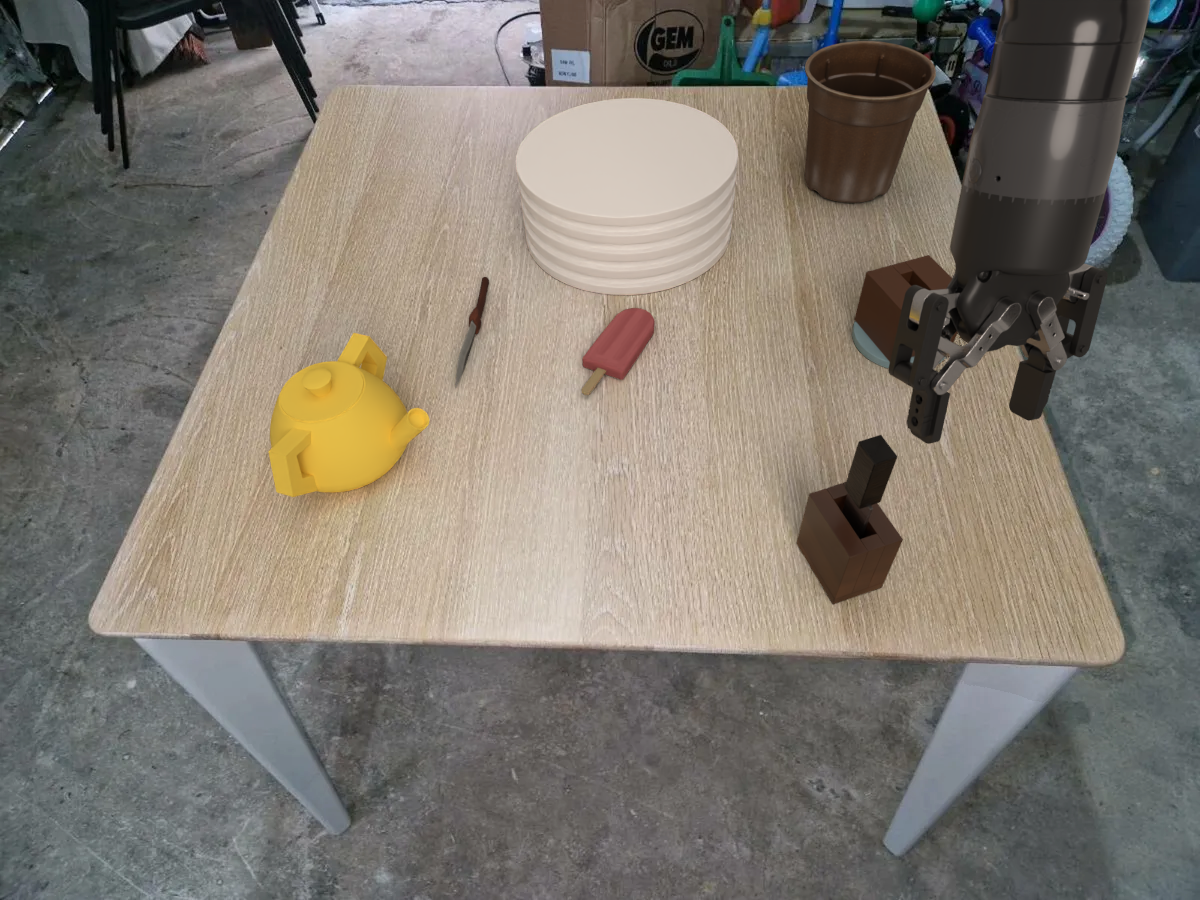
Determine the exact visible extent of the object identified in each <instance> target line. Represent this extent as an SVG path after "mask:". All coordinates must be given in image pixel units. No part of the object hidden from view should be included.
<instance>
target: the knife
mask: <svg viewBox="0 0 1200 900" xmlns="http://www.w3.org/2000/svg"><path fill="white" fill-rule="evenodd" d="M489 286H490V279H489V277H487V276H483V277H481V281H480V287H479V292H478V297H477V301H476V304H475V307H474V308H473V310H472V311H470V314H469V316H468V329H467V332H466V335H465V338H464V341H463V343H462V345H461V348H460V351H459V354H458V359H457V364H456V373H455V382H454V389H456V388H457V386H458V385H459V383H460V381H461V378H462V376H463V373H464V372H465V368H466V366H467V363H468V360H469V358H470V354H471V351H472V347H473V344H474V341H475V338H476V335H478V334H479V332H480V330H481V327H482V318H483V314H484V310H485V306H486V301H487V296H488V291H489Z"/></svg>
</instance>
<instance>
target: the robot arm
mask: <svg viewBox="0 0 1200 900" xmlns="http://www.w3.org/2000/svg"><path fill="white" fill-rule="evenodd" d="M1150 9H1151V0H1002V9H1001V13H1000V17H999V22H998V25H997V30H996V35H995V39H994V41H995V42H994V43H993V47H992V53H991V58H990V63H989V69H988V73H987V79H986V83H985V88H984V89H985V90H984V93H985V94H983V98H982V102H981V105H980V108H979V113H978V114H977V115H978V116H977V118H976V120H975V125H974V127H973V130H972V133H971V138H970V142H969V147H968V151H967V156H966V163H965V168H964V173H963V179H962V183H961V188H960V193H959V198H958V204H957V209H956V214H955V219H954V225H953V228H952V229H953V230H952V234H951V238H950V244H949V250H950V253H951V255H952V258H953V260H954V265H955V269H954V273H953V276H952V280H951V281H950V283H949V285H948V286H947V288H946V289H939V290H927V289H925V288H922V287H920V286H918V285H913V286H911V287H909V288H908V290H907V291H906V293H905V296H904V301H903V305H902V310H901V314H900V319H899V323H898V328H897V332H896V337H895V341H894V346H893V350H892V355H891V359H890V364H889V369H888V368H887V370H888V374H889V375H890V376H891V377H893V378H895V379H897V380H899V381H900V382H902V383H903V384H905V385H907V386H909V387H911V388H912V391H911V395H910V401H909V406H908V408H909V409H908V412H907V417H906V426H907V429H908V430H909V431H910V433H911V435H913V436H914V437H916V438H917V439H919V440H920V441H921V442H923V443H925V444H926V445H929V444H930V445H931V444H934V443H938V442H940V441H941V438H942V435H943V430H944V424H945V421H946V416H947V410H948V407H949V401H950V396H951V393H950V392H949V390H950V389H951V388H952V387H953V385H954V384H955V383H956V381H957V380H958V379H959V378H960V376H961V375H962V374H963V372H964V371H965V370H967V369H971V368H974V367H975V366H977V365H978V363H979V362H980V361H981V360H982V359H983V357H984V356H985V355H986V353H988V352H993V351H998V350H1000V349H1002V348H1005V347H1006V346H1013V347H1020V350H1021V351H1022V353H1023V356H1024V357H1025V358H1026V359H1025V360H1021V361H1019V363H1018V368H1017V370H1016V375H1015V378H1014V384H1013V387H1012V391H1011V395H1010V399H1009V402H1008V408H1009V411H1010V412H1011V413H1013V414H1015V415H1017V416H1018V417H1020V418H1022V419H1024V420H1026V421H1030V422H1031V421H1034V420H1039V419H1040V418H1041V417H1042V415H1043V412H1044V409H1045V408H1046V406H1047V404H1048V402H1049V397H1050V394H1051V390H1052V387H1053V384H1054V381H1055V377H1056V374H1057V371H1059V370H1061V369H1063V368H1064V366H1065V365H1066V363H1067V360H1068V359H1070V358H1072V357H1073V356H1074V357H1076V358H1083V357H1084V356H1086V355H1087V353H1088V352H1089V350H1090V348H1091V344H1092V340H1093V336H1094V332H1095V328H1096V326H1097V325H1096V324H1097V321H1098V317H1099V312H1100V309H1101V305H1102V301H1103V297H1104V294H1105V289H1106V285H1107V281H1108V276H1109V274H1108V271H1107V270H1105V269H1103V268H1099V267H1096V266H1094V265H1091V264H1088V263H1086V261H1087V259H1088V256H1089V253H1090V250H1091V245H1092V241H1093V238H1094V234H1095V230H1096V227H1097V224H1098V220H1099V216H1100V213H1101V210H1102V206H1103V203H1104V199H1105V196H1106V193H1107V189H1108V185H1109V181H1110V178H1111V174H1112V171H1113V167H1114V163H1115V160H1116V157H1117V152H1118V149H1119V145H1120V140H1121V135H1122V134H1121V133H1122V125H1123V118H1124V117H1123V116H1124V112H1125V107H1126V101H1127V97H1126V96H1128V94H1129V91H1130V87H1131V84H1132V81H1133V80H1132V79H1133V76H1134V73H1135V69H1136V66H1137V62H1138V59H1139V55H1140V51H1141V47H1142V44H1143V40H1144V37H1145V32H1146V28H1147V23H1148V20H1149V13H1150ZM1070 320H1071V321H1073V322H1074V324H1075V327H1074V331H1073V334H1072V333H1069V332H1068V328H1069V325H1070ZM956 331H957V332H958V333H957V335H958V336H959V338H960V339H961V340H962V341H963V342H965V343H966V344H965V345H959V344H957V343H955V342H954V343H953V342H951V341H950V340H951V338H952V337H953V335H954V334H955V333H956ZM913 350H914V352H915V357H914V361H913V363H911V362H910V361H911V356H912V352H913ZM944 357H946V358H947V357H948V359H947V361H946V362H945V363H944V365H943V366H942V367H941V369H940V370H939V371H937V370H935V369H936V368H937V367H938V365H939V364H940V363H939V362H940V361H941V360H942V359H943V358H944Z"/></svg>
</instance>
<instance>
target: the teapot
mask: <svg viewBox="0 0 1200 900" xmlns="http://www.w3.org/2000/svg"><path fill="white" fill-rule="evenodd" d="M387 360H388V356H387V355H386V354H385V352H383V350H382V349H381V348H380V347H379V346H378V344H377V343H376V342H375V341H374V340H373V338H372V337H371V336H370V335H366V334H361V333H357V332H352V335H351V336H350V338H349V340H348V342H347V343H346V345H345V347H344V348H343V350H342V352H341V354H340V355H339V356H338V358H337V360H329V361H322V362H316V363H314V364H310V365H308V366H305V367H304V368H302V369H300V370H298V371H297V372H296V373H294V374H293V375H292V376H291V377H290V378H289V379H288V380H287V381H285V384H284V385H282V388H281V390H280V391H279V393H278V395H277V398H276V400H275V404H274V407H273V410H272V414H271V418H270V423H269V425H270V426H269V441H270V449H269V450H268V451H267V452H268V456H269V462H270V467H271V472H272V477H273V483H274V488H275V492H276V493H277V494H280V495H284V496H288V497H292V498H296V497H300V496H303V495H306V494H311V493H314V492H318V493H331V494H333V493H335V494H336V493H345V492H350V491H354V490H357V489H361V488H363V487H366V486H368V485H370V484H373V483H374V482H375V481H377V480H379V479H381V478H382V477H383V476H384V475H386V474H387V473H388V472H389V471H390V470H391V469H392V468H393V467H394V466H395V465H396V463H397V462H398V461H399V460H400V459H401V457H402V455H403V454H404V453H405V450H406V448H407V447H408V444H409V443H410V442H411V441H412V440H414V439H415V438H416V437H417V436H418V435H420V434H421V433H422V432H423V431H424V430H425V429H427V428H428V426H429V424H430V416H429V414H428V413H427V411H425V409H423V408H420V407H413V408H411V409H409V410H407V408H406V406H405V404H404V403H403V401H402V400H401V398H400V397H399V395H398V394H397V393H396V392H395V390H394V389H393V388H392V387H390V385H389V384H387V383H386V382H385V381H384V376H385V372H386V366H387Z"/></svg>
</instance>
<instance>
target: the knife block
mask: <svg viewBox="0 0 1200 900" xmlns="http://www.w3.org/2000/svg"><path fill="white" fill-rule="evenodd" d="M845 484H846V481H844V482H841V483H837V484H835V485H832V486H828V487H826V488H823V489H819V490H815V491H813V492H809V493H808V496H807V500H806V503H805V507H804V511H803V515H802V520H801V523H800V527H799V531H798V535H797V538H796V542H795V545H796V546H797V547H798V549H799V551H800V552H801V554H802V556H803V557H804V559H805V560H806V562H807V564H808V566H809V567H810V569H811V571H812V572H813V574H814V575H815V577H816V579H817V580H818V582H819V584H820V586H821V587H822V589H823V591H824V592H825V594H826V596H827V597H828V599H829V601H830V602H831V604H832V605H836V604H839V603H841V602H844V601H845V602H846V601H847V600H851V599H853V598H856V597H859V596H861V595H865V594H867V593H871V592H873V591H876V590H879V589H882V588H883V585H884V584H885V581H886V579H887V577H888V574H889V572H890V570H891V568H892V565H893V563H894V562H895V559H896V557H897V555H898V552H899V550H900V548H901V545H902V543H903V540H904V539H903V537H902V535H901V534H900V533H899V531H898V530H897V529H896V527H895V526H894V524H893V523H892V521H891V520H890V519H889V518H888V516H887V514H886V513H885V511H884V510H883V509H882V508H881V505H879V503H877V504H874V505H871V506H872V508H873V510H872V513H871V516H870V518H869V521H868V524H867V526H866V529H865V532H864V534H863V537H862V539H859V537H858V536H857V534H856V533H855V531H854V530H853V528H852V527H851V525H850V524H849V522H848V521H847V519H846V518H845V516H844V515H843V513H842V509H843V506H844V503H845V500H846V497H847V494H848V492H847V491H846V490H845V488H844V487H845Z"/></svg>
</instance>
